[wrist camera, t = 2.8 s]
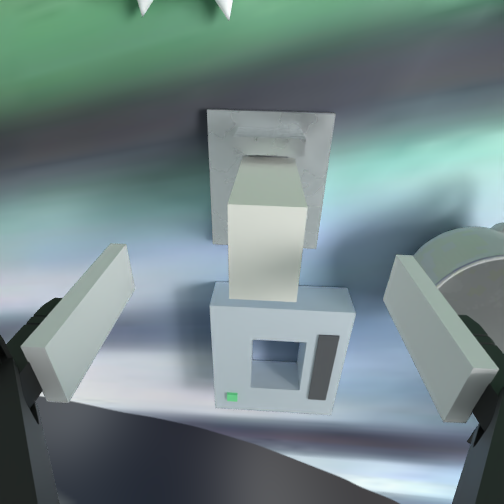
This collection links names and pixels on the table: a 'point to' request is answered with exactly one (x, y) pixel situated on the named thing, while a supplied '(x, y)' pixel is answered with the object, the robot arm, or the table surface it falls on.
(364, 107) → the table surface
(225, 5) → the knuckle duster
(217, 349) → the switch box
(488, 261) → the teacup
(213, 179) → the holster
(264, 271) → the plug
